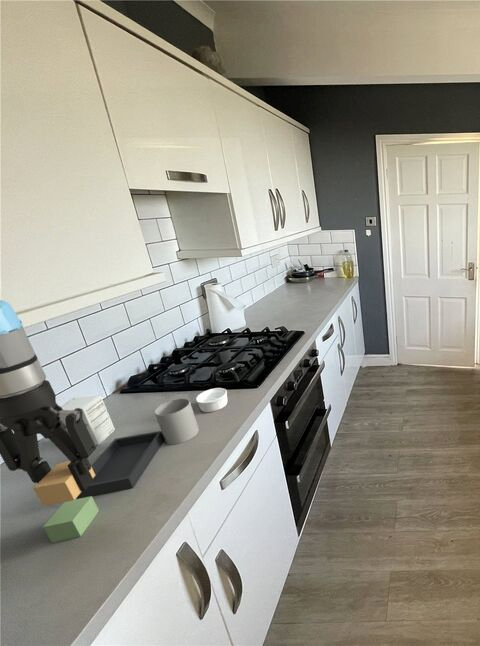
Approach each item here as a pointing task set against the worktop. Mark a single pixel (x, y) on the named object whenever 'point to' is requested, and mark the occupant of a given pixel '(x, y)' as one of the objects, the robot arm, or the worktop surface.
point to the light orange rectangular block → (58, 485)
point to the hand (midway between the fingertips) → (70, 488)
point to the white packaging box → (92, 416)
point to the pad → (71, 519)
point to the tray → (123, 463)
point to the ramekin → (212, 399)
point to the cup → (176, 421)
